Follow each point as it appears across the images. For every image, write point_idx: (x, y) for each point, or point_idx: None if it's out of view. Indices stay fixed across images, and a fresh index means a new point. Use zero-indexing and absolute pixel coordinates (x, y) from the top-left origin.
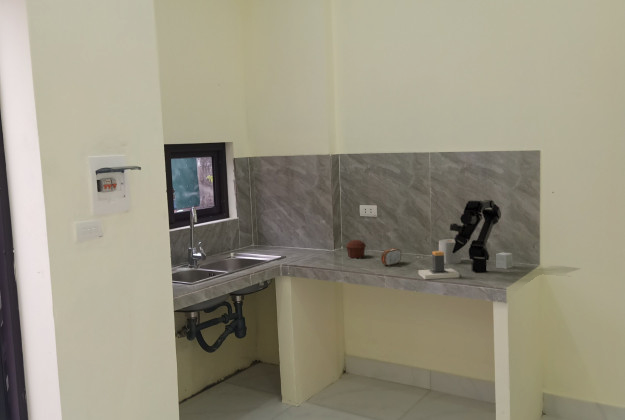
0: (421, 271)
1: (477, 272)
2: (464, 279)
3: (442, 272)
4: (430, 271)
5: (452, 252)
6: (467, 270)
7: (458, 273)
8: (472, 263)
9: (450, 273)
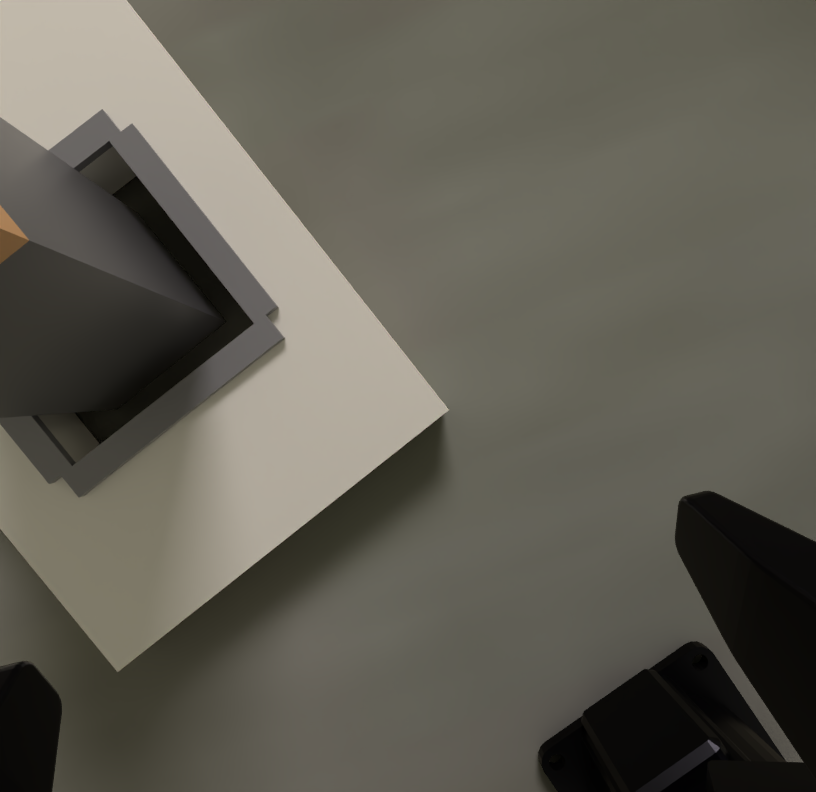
0: (2, 18)
1: (555, 783)
2: None
3: None
4: None
5: (3, 674)
6: (673, 578)
7: (109, 658)
8: (639, 779)
9: (38, 543)
